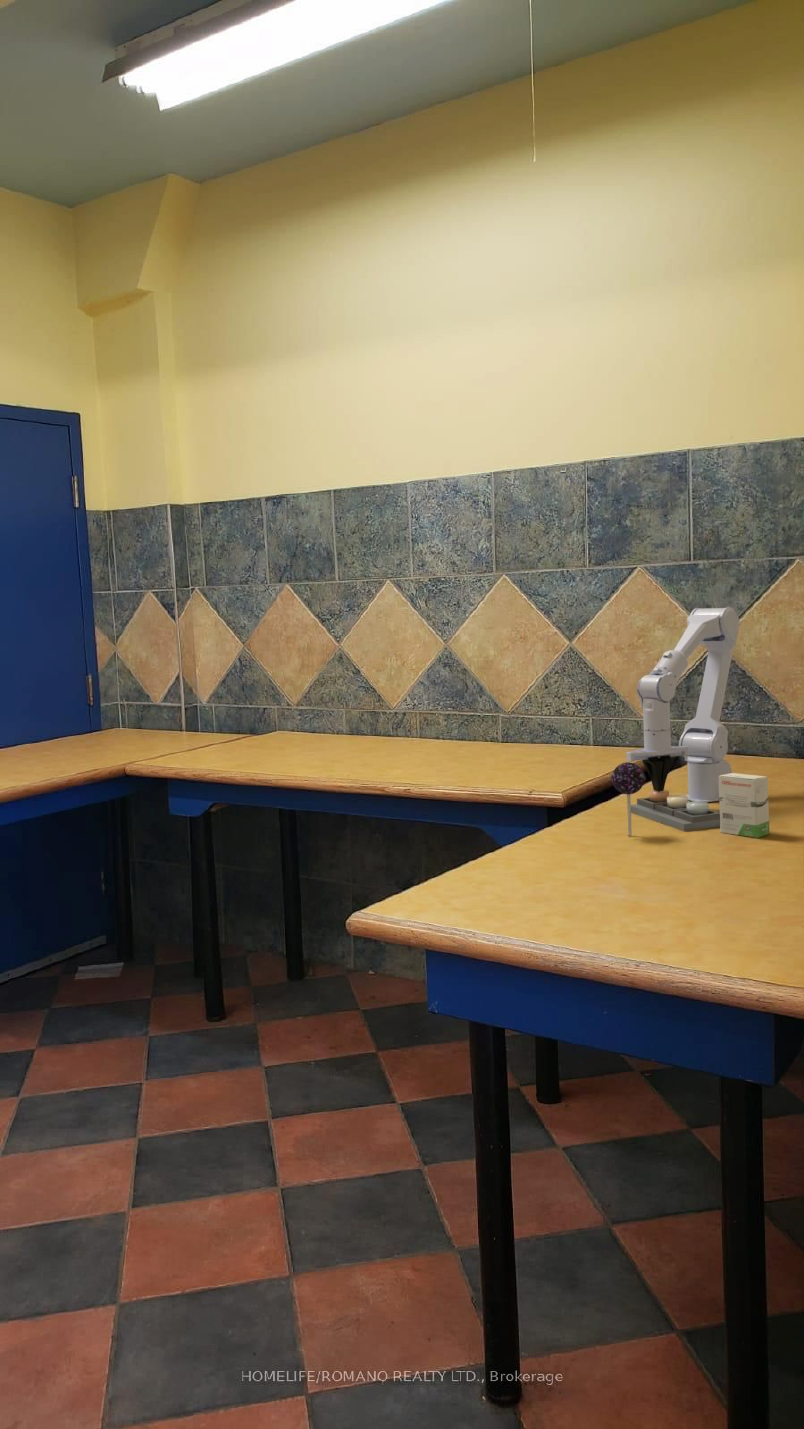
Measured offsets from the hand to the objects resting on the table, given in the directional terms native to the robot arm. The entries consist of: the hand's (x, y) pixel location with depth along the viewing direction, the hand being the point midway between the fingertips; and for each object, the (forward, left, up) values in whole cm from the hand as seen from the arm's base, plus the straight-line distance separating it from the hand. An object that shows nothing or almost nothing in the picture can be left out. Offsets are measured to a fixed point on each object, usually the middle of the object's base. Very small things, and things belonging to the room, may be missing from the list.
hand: (658, 790), depth 238 cm
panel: (0, +7, -5) cm, 9 cm away
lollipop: (+16, +16, -5) cm, 24 cm away
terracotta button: (0, 0, -2) cm, 2 cm away
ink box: (-4, +26, -5) cm, 27 cm away
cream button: (0, +7, -2) cm, 8 cm away
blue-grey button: (0, +15, -2) cm, 15 cm away
